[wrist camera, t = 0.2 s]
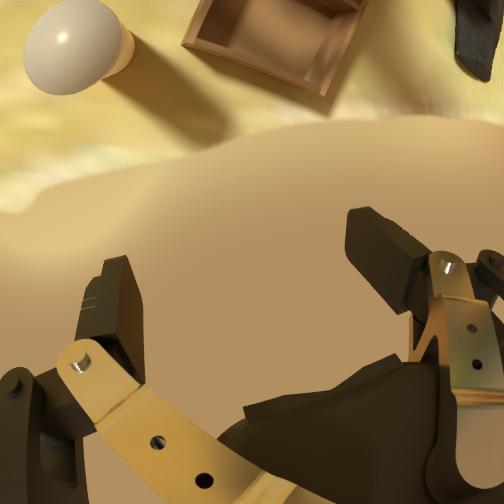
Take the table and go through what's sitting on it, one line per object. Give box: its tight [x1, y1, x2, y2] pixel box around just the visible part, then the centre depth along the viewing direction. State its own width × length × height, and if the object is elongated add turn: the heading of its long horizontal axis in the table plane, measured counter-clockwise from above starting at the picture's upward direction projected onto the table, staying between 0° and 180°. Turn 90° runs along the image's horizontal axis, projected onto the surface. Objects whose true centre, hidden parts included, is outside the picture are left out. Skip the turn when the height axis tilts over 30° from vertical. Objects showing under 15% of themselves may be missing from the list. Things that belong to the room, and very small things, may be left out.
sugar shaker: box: [23, 0, 135, 95], centre depth 15 cm, size 5×5×14 cm
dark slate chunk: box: [455, 0, 504, 82], centre depth 23 cm, size 15×22×5 cm
